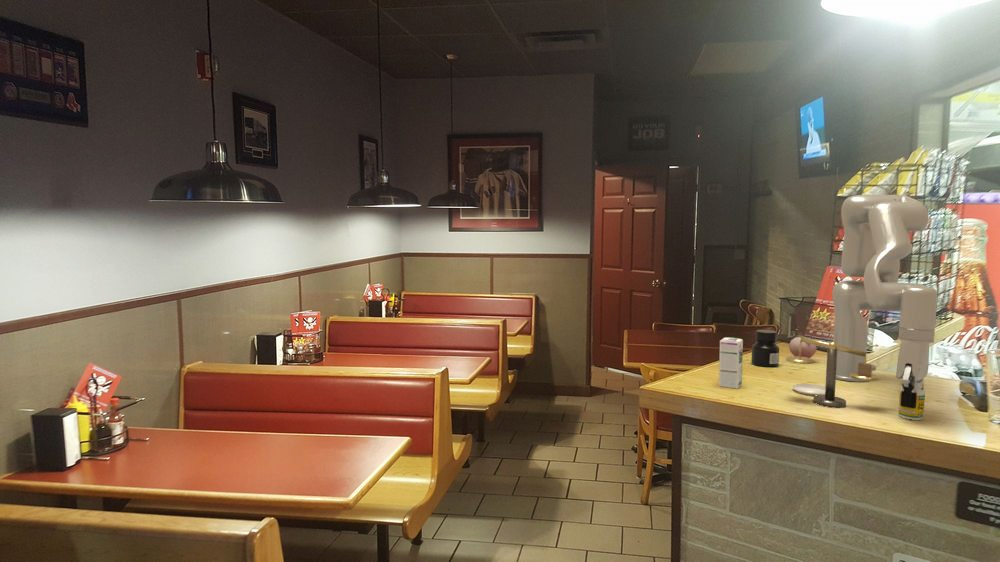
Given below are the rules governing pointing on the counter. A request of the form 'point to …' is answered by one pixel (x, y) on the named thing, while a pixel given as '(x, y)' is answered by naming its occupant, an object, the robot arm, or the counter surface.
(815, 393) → the dish
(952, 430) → the counter surface
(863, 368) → the balance
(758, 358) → the ink bottle
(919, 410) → the supplement bottle
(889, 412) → the counter surface
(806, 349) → the decorative fruit
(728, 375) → the syrup box
